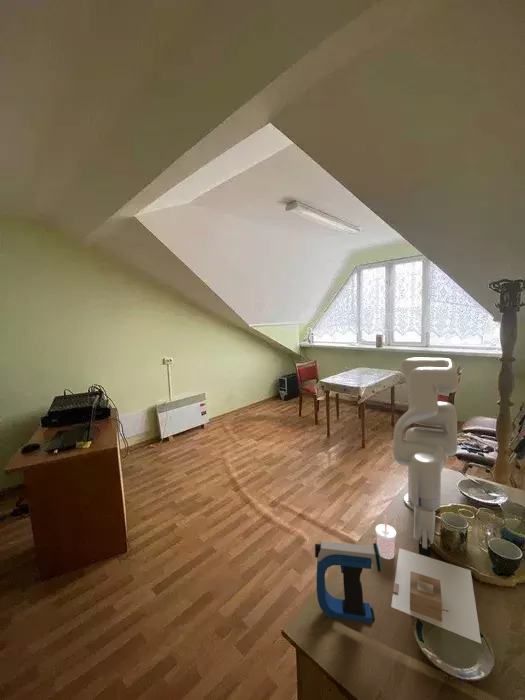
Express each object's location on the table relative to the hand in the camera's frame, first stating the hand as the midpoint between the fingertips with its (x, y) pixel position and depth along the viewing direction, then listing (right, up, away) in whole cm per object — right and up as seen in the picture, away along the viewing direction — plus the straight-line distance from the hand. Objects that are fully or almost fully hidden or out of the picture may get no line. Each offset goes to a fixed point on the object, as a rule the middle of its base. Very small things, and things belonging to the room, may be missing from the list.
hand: (425, 553), depth 86 cm
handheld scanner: (-25, -9, -10) cm, 29 cm away
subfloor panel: (0, -7, -5) cm, 9 cm away
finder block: (-5, -7, -9) cm, 13 cm away
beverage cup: (-8, -6, +8) cm, 13 cm away
